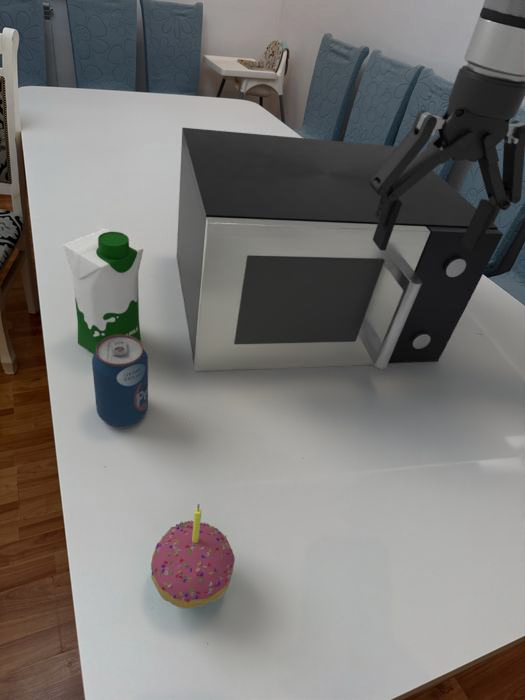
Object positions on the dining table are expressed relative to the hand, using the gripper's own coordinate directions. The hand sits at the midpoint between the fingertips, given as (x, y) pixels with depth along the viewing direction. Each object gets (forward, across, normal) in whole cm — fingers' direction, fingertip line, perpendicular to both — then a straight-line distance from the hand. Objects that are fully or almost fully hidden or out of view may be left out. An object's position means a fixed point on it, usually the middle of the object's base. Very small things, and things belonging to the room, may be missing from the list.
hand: (424, 246), depth 67 cm
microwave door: (+25, +13, -1) cm, 29 cm away
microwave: (+26, +7, -21) cm, 34 cm away
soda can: (+26, +40, +4) cm, 48 cm away
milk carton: (+26, +42, -11) cm, 50 cm away
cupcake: (+26, +33, +29) cm, 51 cm away
